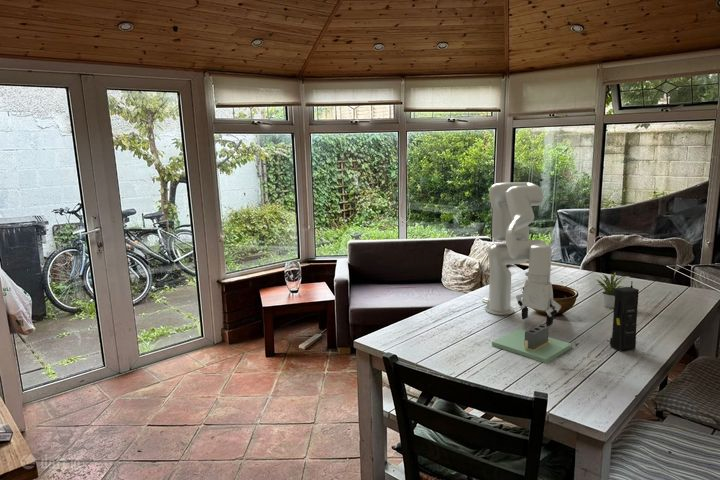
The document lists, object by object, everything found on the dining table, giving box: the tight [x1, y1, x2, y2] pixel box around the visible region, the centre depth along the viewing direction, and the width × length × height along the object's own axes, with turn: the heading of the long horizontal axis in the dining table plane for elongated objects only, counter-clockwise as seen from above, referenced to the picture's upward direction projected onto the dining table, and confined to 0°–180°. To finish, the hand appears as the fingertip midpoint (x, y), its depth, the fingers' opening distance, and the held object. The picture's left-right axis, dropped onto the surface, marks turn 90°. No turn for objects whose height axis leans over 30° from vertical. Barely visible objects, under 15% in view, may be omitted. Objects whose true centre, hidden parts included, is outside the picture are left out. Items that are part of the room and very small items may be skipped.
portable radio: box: [609, 281, 640, 352], centre depth 175 cm, size 8×6×25 cm
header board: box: [491, 328, 573, 364], centre depth 180 cm, size 22×19×5 cm
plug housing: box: [524, 323, 550, 350], centre depth 178 cm, size 4×11×6 cm, turn 131°
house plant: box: [594, 272, 631, 309], centre depth 222 cm, size 14×14×16 cm
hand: (536, 322), depth 178 cm, fingers open, 9 cm apart
